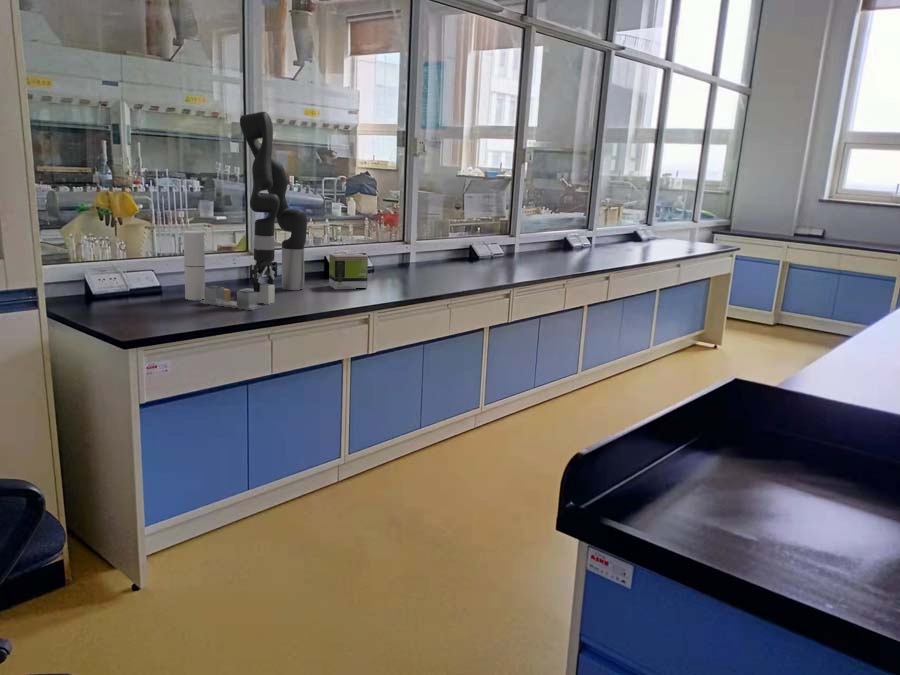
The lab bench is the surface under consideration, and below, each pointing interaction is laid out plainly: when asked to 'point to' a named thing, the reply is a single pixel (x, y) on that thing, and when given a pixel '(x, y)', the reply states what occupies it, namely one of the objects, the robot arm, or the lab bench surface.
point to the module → (266, 294)
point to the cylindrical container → (194, 265)
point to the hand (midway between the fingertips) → (263, 290)
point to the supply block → (247, 289)
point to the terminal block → (227, 294)
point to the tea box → (348, 271)
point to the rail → (217, 297)
